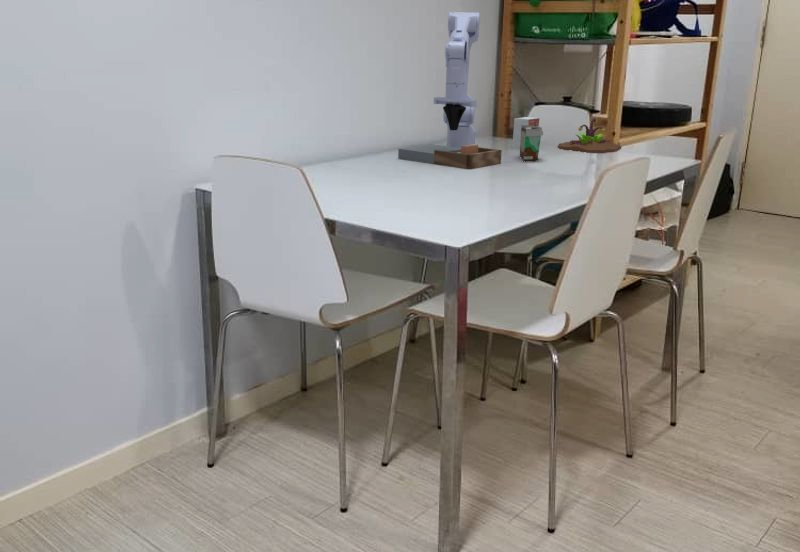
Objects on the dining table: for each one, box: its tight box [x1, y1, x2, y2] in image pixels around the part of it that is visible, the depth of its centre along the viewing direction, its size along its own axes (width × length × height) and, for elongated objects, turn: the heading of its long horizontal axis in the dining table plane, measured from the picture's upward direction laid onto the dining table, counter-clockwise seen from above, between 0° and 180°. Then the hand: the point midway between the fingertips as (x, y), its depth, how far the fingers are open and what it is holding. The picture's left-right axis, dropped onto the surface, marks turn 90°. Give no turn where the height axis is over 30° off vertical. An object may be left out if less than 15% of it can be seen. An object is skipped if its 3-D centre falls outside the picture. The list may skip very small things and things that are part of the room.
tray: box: [433, 146, 502, 170], centre depth 236 cm, size 16×13×4 cm
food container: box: [519, 125, 544, 163], centre depth 246 cm, size 12×6×10 cm, turn 179°
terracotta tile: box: [461, 143, 479, 154], centre depth 236 cm, size 6×5×2 cm
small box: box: [512, 116, 540, 149], centre depth 270 cm, size 8×6×10 cm
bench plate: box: [397, 143, 461, 165], centre depth 245 cm, size 16×14×3 cm
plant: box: [557, 117, 622, 154], centre depth 269 cm, size 20×20×11 cm
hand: (453, 130), depth 238 cm, fingers closed
